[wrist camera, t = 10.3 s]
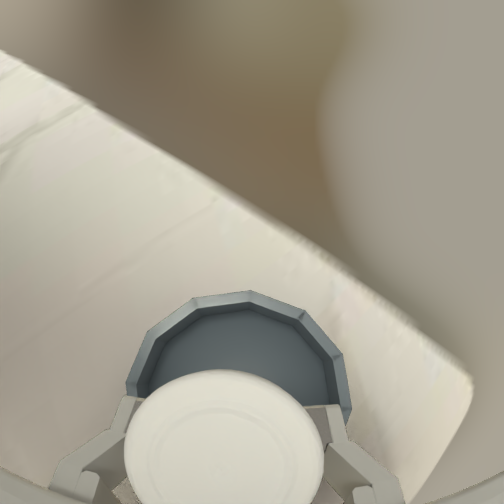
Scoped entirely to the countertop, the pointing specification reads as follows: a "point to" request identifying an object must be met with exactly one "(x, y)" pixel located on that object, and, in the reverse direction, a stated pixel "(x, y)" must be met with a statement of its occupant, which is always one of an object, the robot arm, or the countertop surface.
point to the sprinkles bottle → (223, 443)
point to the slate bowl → (244, 348)
